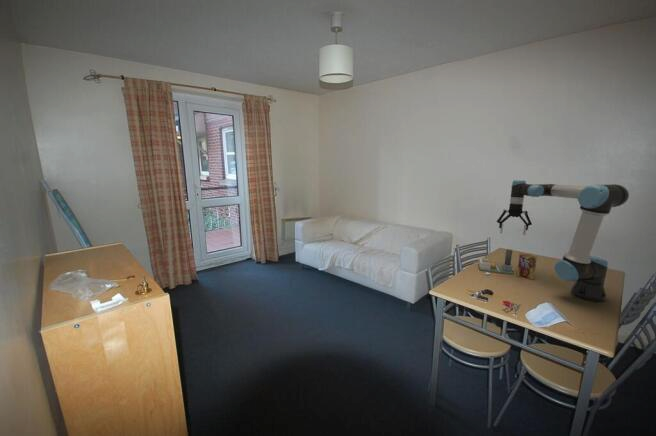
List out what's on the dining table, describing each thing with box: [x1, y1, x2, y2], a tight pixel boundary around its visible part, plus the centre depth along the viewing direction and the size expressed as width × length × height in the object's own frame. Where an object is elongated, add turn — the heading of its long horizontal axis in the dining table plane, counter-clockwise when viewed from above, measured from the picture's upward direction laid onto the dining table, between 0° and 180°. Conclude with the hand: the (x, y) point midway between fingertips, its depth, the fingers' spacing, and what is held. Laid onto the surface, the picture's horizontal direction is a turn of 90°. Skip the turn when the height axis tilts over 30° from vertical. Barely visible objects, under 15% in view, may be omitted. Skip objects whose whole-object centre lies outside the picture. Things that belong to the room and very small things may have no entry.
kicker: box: [501, 248, 513, 272], centre depth 203 cm, size 6×5×14 cm
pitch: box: [477, 258, 514, 276], centre depth 207 cm, size 13×20×6 cm, turn 69°
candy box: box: [516, 252, 538, 280], centre depth 193 cm, size 9×4×15 cm, turn 39°
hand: (512, 233), depth 200 cm, fingers open, 13 cm apart
